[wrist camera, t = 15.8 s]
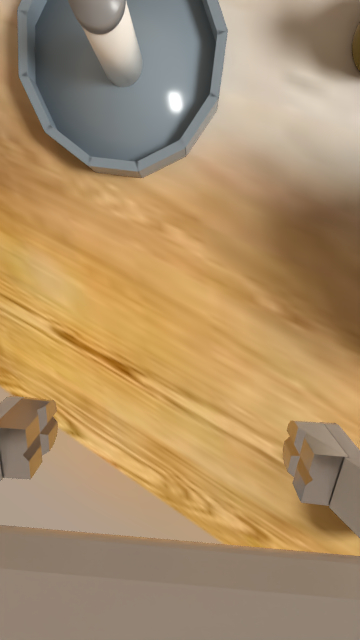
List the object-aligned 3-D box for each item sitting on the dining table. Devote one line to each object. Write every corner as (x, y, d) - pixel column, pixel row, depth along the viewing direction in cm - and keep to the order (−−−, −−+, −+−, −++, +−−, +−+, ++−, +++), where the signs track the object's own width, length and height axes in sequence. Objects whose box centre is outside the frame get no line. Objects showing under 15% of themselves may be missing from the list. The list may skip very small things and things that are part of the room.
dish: (32, 164, 33) (20, 157, 31) (31, -64, 28) (15, -94, 26) (206, 185, 33) (207, 179, 30) (237, -45, 28) (241, -74, 25)
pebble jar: (101, 86, 30) (65, 21, 22) (103, 36, 29) (66, -51, 21) (141, 90, 30) (120, 27, 22) (145, 40, 29) (124, -46, 21)
